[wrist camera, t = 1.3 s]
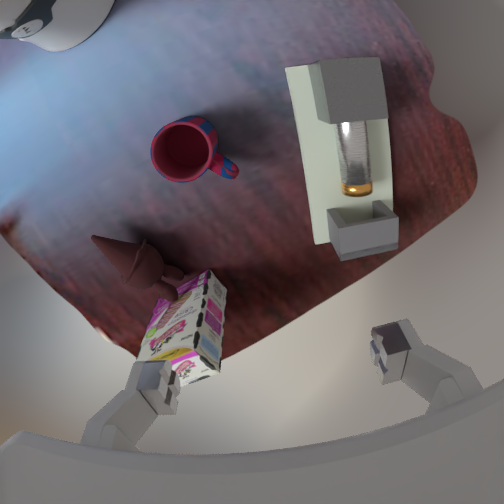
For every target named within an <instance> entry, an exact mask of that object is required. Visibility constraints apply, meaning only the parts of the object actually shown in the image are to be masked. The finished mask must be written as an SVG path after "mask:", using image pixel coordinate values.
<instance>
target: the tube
mask: <svg viewBox="0 0 504 504" xmlns="http://www.w3.org/2000/svg"><path fill="white" fill-rule="evenodd" d="M334 131H335V138H336V145H337V152H338V160H339V168H340V177H341V186H342V193H343V194H344V195H345V196H349V197H364V196H368V195H370V194H372V193H373V183H372V169H371V157H370V147H369V137H368V129H367V121H366V120H365V121H355V122H346V123H338V124H334Z"/></svg>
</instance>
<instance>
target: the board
mask: <svg viewBox="0 0 504 504" xmlns="http://www.w3.org/2000/svg"><path fill="white" fill-rule="evenodd" d="M285 72H286V76H287V81H288V86H289V90H290V95H291V100H292V105H293V110H294V116H295V121H296V126H297V132H298V137H299V143H300V149H301V155H302V161H303V167H304V173H305V179H306V186H307V192H308V199H309V206H310V213H311V221H312V228H313V236H314V242H315V244H316V245H317V244H322V243H327V242H331V241H330V239H329V230H328V221H327V212H326V209H331V208H335V209H336V210H337V212H338V213H339V214H340V216H341V217H342V219H343V220H344V221H345V223H346V224H349V223H354V222H359V221H364V220H370V219H373V208H372V201H376V200H381V201H382V202H383V203H384V204H385V205H386V206H387V207H388V208H389V209H390V210H392V211H393V189H392V167H391V151H390V139H389V129H388V119H376V120H366V121H367V129H368V137H369V147H370V157H371V169H372V183H373V193H372V194H370V195H368V196H364V197H349V196H345V195H344V194H343V193H342V186H341V177H340V168H339V160H338V152H337V145H336V138H335V131H334V124H328V123H326V122H323V121H320V120H318V118H317V112H316V106H315V101H314V96H313V90H312V85H311V80H310V75H309V70H308V66H307V65H303V66H295V67H288V68H285Z"/></svg>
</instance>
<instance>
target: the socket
mask: <svg viewBox="0 0 504 504" xmlns="http://www.w3.org/2000/svg"><path fill="white" fill-rule="evenodd" d="M372 208H373V219H370V220H364V221H359V222H354V223H349V224H346V223H345V221H344V220H343V219H342V217H341V216H340V214H339V213H338V212H337V210H336V209H335V208H331V209H326V212H327V221H328V230H329V239H330V241H331V243H332V245H333V247H334V249H335V251H336V252H337V254H338V256H339V258H340V260H341V261H344V260H349V259H354V258H358V257H363V256H368V255H372V254H377V253H382V252H386V251H391V250H395V249H398V227H399V217H398V216H397V215H396V214H395V213H394V212H393V211H392V210H390V209H389V208H388V207H387V206H386V205H385V204H384V203H383V202H382V201H381V200H376V201H372Z"/></svg>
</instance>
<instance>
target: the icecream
mask: <svg viewBox="0 0 504 504" xmlns="http://www.w3.org/2000/svg"><path fill="white" fill-rule="evenodd" d="M91 239H92V241H93V242H94V243H95V244H96V246H97V247H98V248H99V249H100V250H101V251H102V253H103V254H104V255H105V256H106V257H107V258H108V260H109V261H110V262H111V263H112V264H113V265H114V266H115V268H116V269H117V270H118V271H119V272H120V273H121V274H122V275H121V279H122V283H123V284H124V283H128V284H129V285H131V286H133V287H136V288H141V289H146V288H149V287H152V286H153V287H154V288H155V290H156V291H157V292H158V293H159V294H160V297H161V298H162V299H166V300H167V301H169V302H175V301H177V300H178V298H179V295H178V291H177V289H176V288H175V287H174V286H172V285H170V284H168V283H166V282H165V281H162V280H161V277H162V275H163V276H164V277H166V278H168V279H170V280H174V281H181V280H182V279H183V278H184V273H183V271H182V270H180V269H179V268H177V267H175V266H171V265H166V264H164V262H163V259H162V256H161V255H160V254H159V252H158V251H157V250H156V249H155V248H154V247H152V246H151V245H149V244H146V239H145V240H143V243H142V244H134V243H129V242H124V241H119V240H114V239H109V238H104V237H100V236H95V235H92V236H91Z"/></svg>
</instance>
